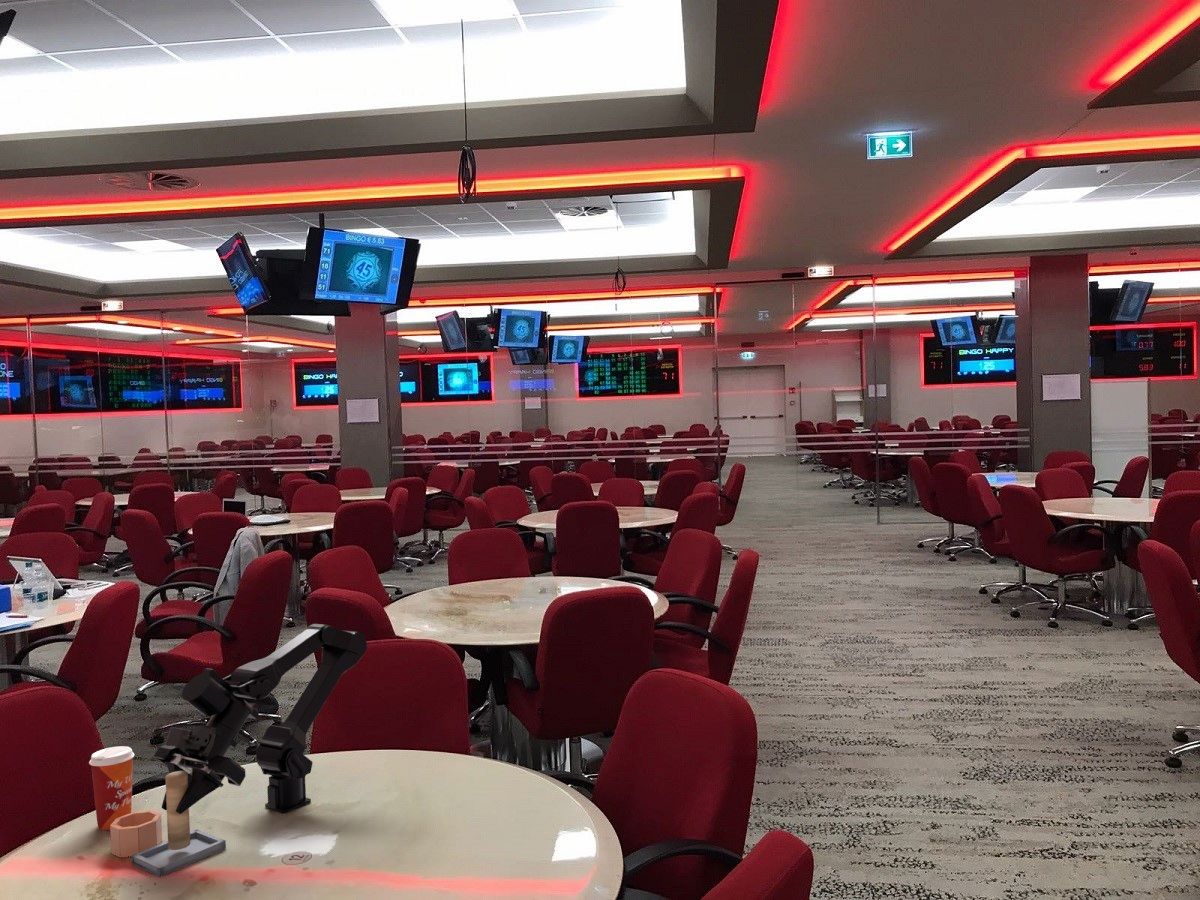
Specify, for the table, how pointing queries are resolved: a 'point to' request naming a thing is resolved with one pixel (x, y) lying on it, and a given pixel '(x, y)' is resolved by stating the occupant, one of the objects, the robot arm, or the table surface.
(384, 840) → the table surface
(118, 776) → the paper cup
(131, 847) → the pot
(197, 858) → the slate tray
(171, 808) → the oak peg
